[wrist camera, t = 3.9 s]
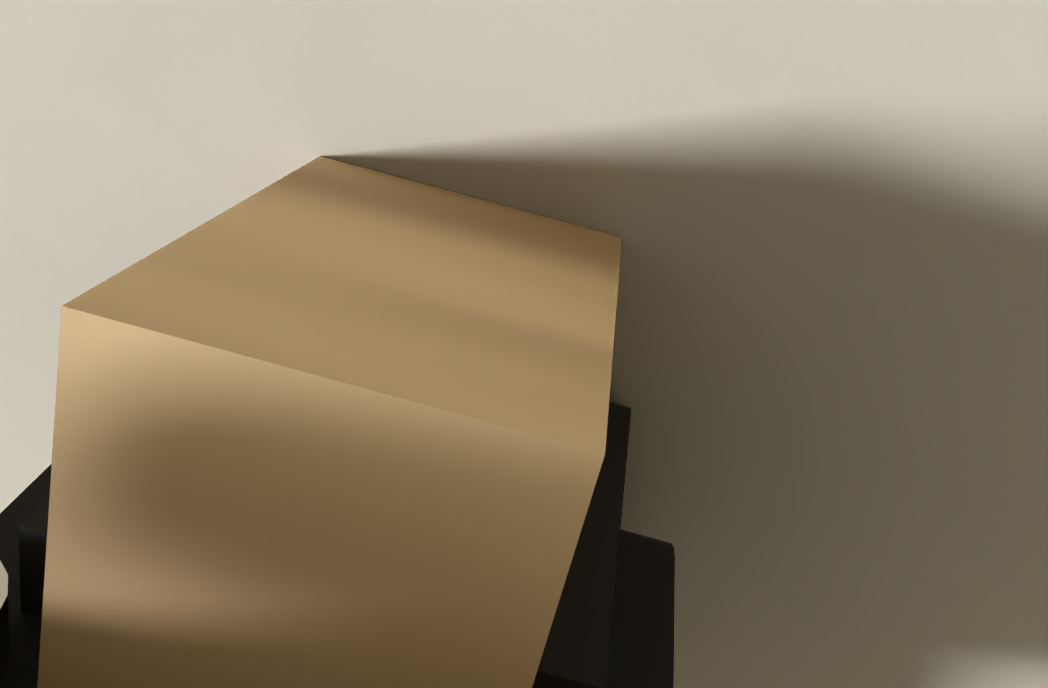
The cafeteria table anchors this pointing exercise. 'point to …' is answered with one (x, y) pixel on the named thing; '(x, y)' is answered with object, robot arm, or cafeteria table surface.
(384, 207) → the plank
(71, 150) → the cafeteria table surface
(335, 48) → the cafeteria table surface
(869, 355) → the cafeteria table surface
